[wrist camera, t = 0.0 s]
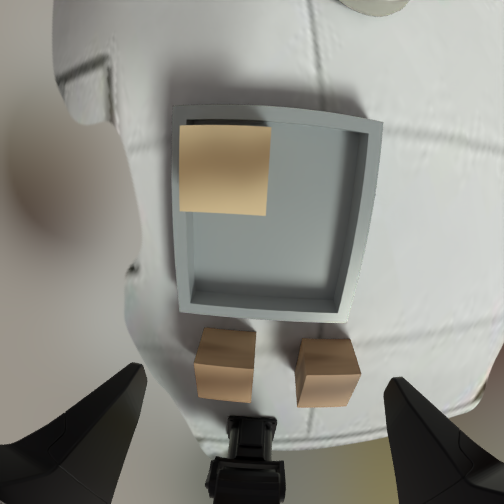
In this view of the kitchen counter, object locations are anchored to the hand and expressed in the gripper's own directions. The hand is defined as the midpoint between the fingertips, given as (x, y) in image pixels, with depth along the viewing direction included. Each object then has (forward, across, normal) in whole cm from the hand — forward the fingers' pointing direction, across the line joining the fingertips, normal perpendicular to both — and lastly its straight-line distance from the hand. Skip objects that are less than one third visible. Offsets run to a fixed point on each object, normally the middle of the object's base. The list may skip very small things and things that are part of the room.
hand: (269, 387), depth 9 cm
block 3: (+15, -6, +13) cm, 21 cm away
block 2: (+15, +3, +12) cm, 19 cm away
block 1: (+14, +3, -6) cm, 16 cm away
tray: (+15, 0, -2) cm, 15 cm away
